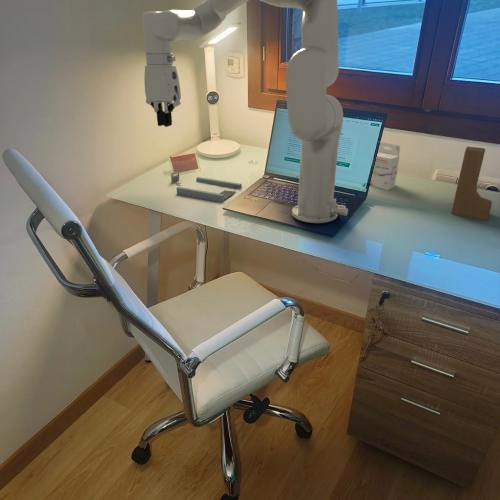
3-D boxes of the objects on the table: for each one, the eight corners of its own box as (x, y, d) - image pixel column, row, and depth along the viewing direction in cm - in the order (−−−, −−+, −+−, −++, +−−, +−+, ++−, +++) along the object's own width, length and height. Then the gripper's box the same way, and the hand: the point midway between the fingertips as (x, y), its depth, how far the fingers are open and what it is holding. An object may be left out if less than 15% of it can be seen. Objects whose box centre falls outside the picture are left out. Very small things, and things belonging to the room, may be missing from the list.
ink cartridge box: (361, 190, 139) (367, 143, 132) (369, 186, 142) (375, 140, 136) (386, 196, 134) (393, 148, 127) (394, 192, 137) (401, 145, 130)
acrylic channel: (241, 189, 139) (241, 183, 138) (222, 202, 129) (222, 195, 128) (198, 182, 146) (198, 176, 145) (176, 194, 136) (176, 187, 135)
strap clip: (187, 186, 143) (186, 173, 141) (180, 188, 141) (179, 175, 140) (171, 180, 149) (170, 168, 147) (164, 182, 147) (163, 170, 145)
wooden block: (488, 215, 120) (505, 150, 112) (487, 221, 116) (505, 154, 108) (452, 210, 124) (466, 146, 116) (450, 215, 120) (465, 149, 112)
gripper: (189, 60, 126) (193, 125, 135) (145, 58, 133) (151, 121, 141) (174, 61, 120) (179, 130, 129) (129, 60, 127) (136, 125, 135)
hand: (164, 125), depth 135 cm, fingers closed
